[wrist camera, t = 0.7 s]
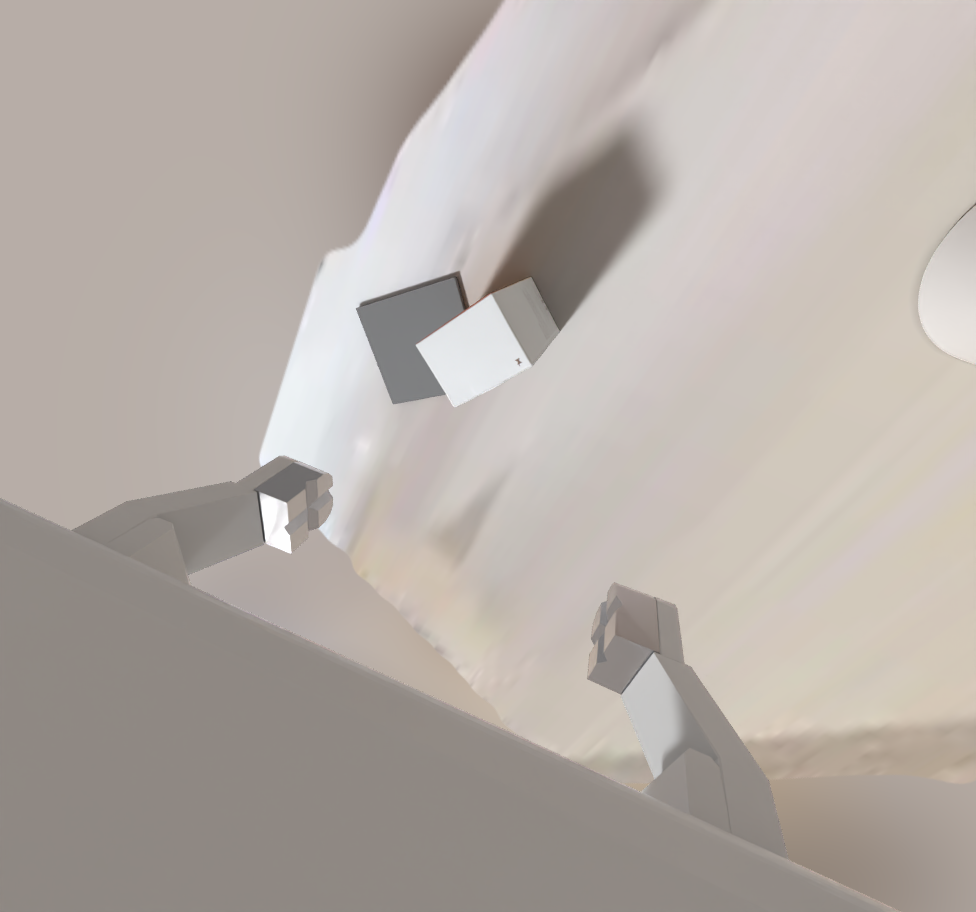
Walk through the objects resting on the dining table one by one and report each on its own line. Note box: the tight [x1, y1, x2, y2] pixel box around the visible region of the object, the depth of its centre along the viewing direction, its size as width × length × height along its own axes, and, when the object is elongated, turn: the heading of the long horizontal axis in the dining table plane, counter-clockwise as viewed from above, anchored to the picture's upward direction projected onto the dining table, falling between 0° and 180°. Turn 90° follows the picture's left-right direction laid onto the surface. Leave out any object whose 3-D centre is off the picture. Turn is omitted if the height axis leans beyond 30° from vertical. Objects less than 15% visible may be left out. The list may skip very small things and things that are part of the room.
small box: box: [416, 277, 560, 407], centre depth 37 cm, size 8×6×13 cm
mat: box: [356, 277, 466, 404], centre depth 46 cm, size 13×12×1 cm
